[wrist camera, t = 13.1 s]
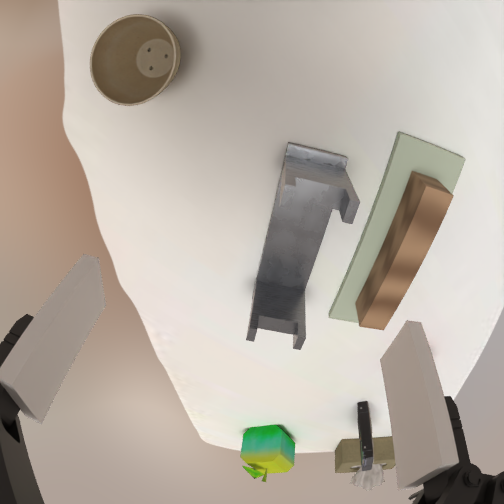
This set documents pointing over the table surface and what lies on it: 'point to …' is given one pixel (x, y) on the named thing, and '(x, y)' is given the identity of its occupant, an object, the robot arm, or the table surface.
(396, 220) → the rail
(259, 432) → the apple
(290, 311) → the standards
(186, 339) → the table surface
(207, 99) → the table surface
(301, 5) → the table surface
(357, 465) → the tissue box
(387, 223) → the pad
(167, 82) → the flower pot
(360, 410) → the disk drive
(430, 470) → the robot arm
